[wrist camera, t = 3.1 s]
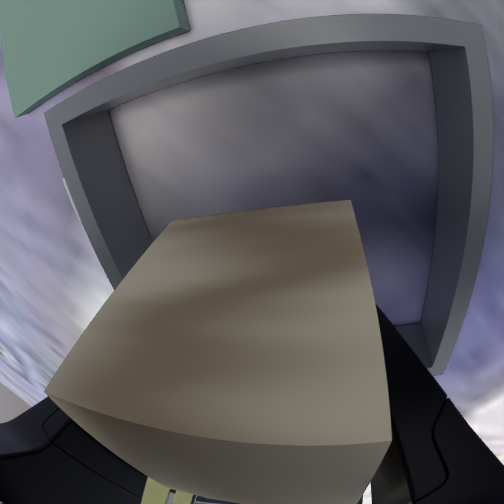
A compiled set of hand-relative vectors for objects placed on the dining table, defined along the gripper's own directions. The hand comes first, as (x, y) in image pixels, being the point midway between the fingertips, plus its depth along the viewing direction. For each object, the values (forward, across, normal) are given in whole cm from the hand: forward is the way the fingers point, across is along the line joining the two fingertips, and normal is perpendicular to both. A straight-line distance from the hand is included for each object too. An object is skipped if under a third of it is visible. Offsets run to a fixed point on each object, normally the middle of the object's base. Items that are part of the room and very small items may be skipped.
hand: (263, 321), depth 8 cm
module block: (+2, 0, 0) cm, 2 cm away
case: (+6, 0, 0) cm, 6 cm away
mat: (+6, +7, -14) cm, 16 cm away
